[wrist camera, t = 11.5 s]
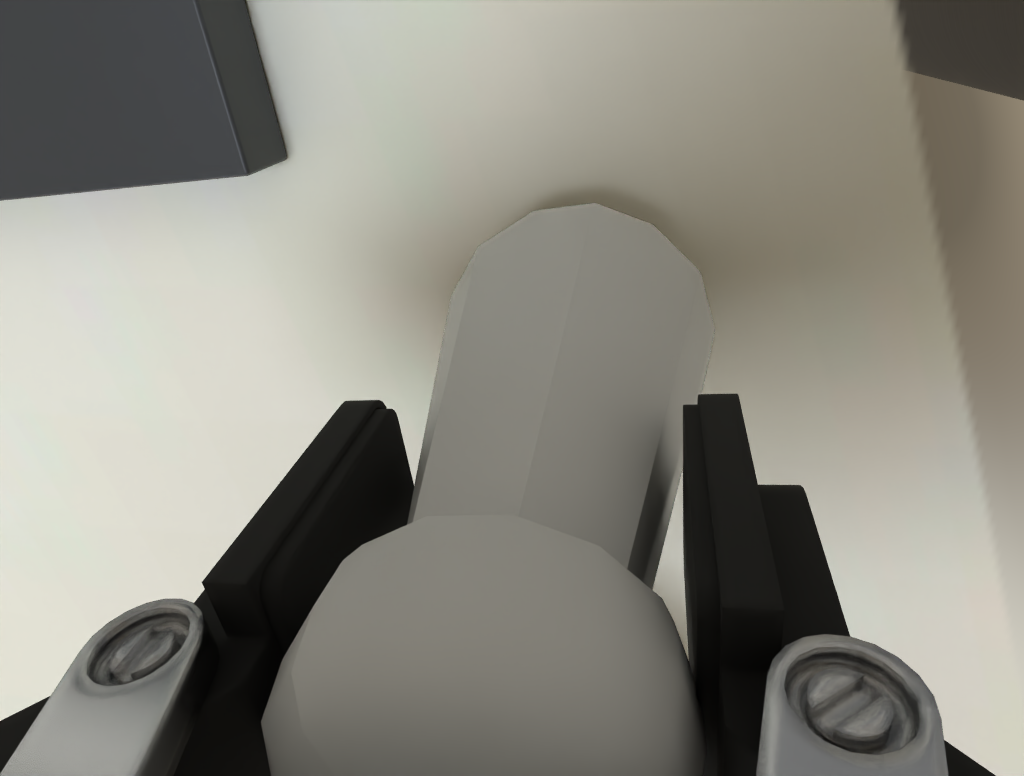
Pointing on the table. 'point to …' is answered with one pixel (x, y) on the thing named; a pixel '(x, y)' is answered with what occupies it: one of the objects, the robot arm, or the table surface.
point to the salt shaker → (523, 533)
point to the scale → (130, 95)
